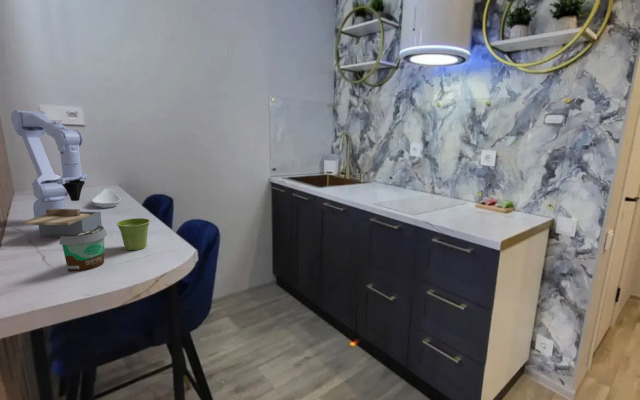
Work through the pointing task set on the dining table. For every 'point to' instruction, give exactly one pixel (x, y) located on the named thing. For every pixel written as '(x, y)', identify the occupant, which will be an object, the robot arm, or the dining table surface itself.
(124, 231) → the plant pot
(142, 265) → the dining table surface
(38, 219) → the lid
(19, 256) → the dining table surface
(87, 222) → the box
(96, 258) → the food container
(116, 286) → the dining table surface
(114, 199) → the spoon rest
